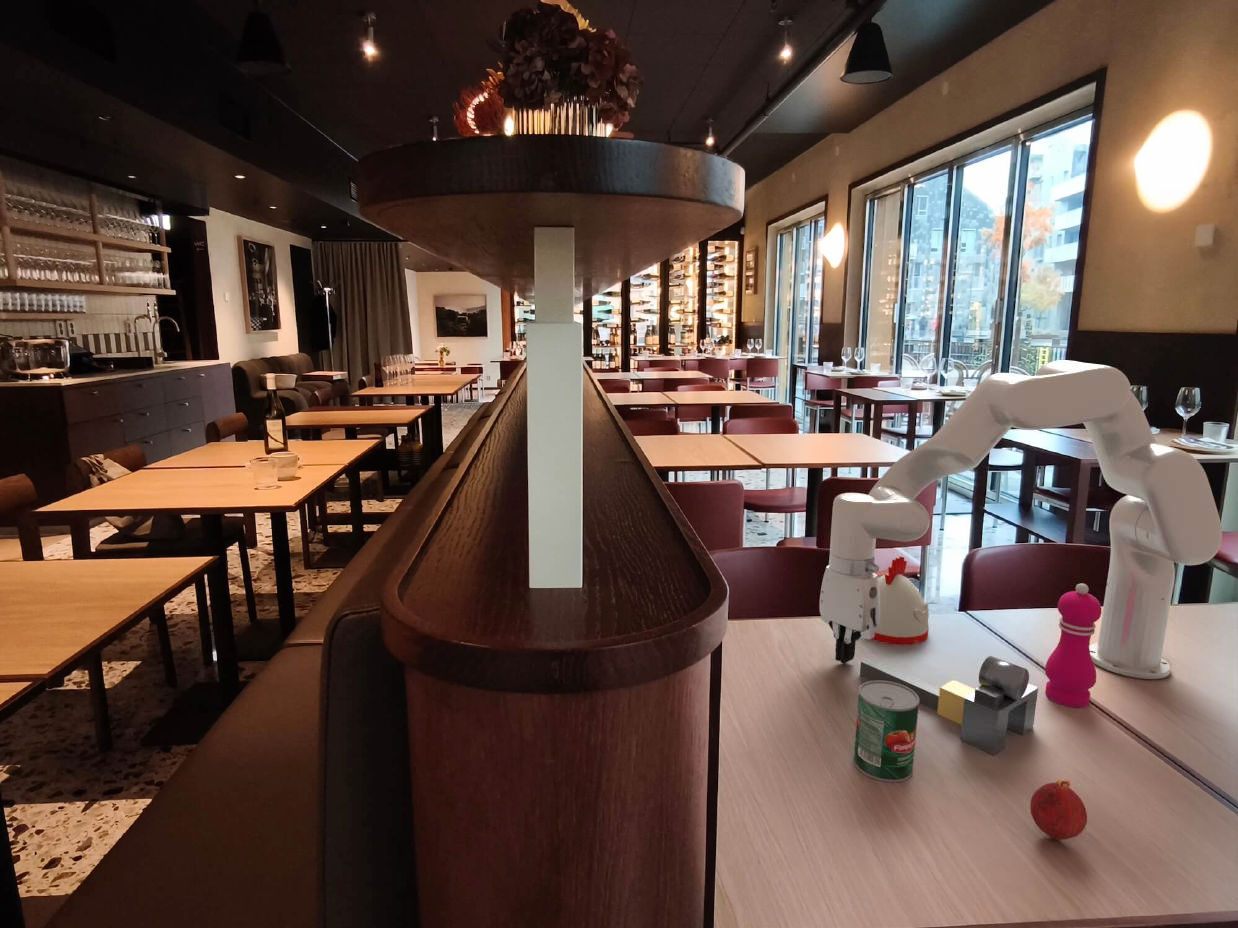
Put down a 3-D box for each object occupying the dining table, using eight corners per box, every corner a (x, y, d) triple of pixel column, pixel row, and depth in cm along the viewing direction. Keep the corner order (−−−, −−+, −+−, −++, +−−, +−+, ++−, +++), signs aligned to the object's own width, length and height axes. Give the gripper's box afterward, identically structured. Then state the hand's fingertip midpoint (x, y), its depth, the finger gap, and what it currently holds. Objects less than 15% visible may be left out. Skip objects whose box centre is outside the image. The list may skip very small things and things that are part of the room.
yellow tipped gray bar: (870, 670, 130) (872, 646, 129) (981, 719, 115) (984, 692, 114) (857, 676, 128) (858, 652, 127) (967, 727, 112) (970, 700, 111)
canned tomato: (858, 743, 108) (864, 674, 106) (915, 758, 104) (922, 687, 102) (848, 772, 101) (854, 700, 99) (909, 789, 98) (916, 714, 95)
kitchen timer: (938, 629, 147) (945, 558, 144) (911, 651, 138) (918, 576, 134) (872, 610, 157) (877, 543, 154) (842, 630, 147) (847, 559, 144)
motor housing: (1000, 713, 116) (1008, 646, 114) (1033, 727, 112) (1042, 658, 110) (960, 739, 109) (967, 667, 107) (993, 755, 105) (1002, 681, 103)
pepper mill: (1100, 711, 117) (1118, 593, 113) (1051, 706, 118) (1066, 590, 114) (1081, 689, 124) (1098, 577, 120) (1035, 684, 125) (1049, 574, 121)
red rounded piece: (1055, 859, 85) (1063, 798, 83) (1015, 827, 90) (1023, 769, 89) (1094, 849, 87) (1103, 789, 85) (1053, 818, 92) (1061, 761, 90)
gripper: (901, 571, 125) (893, 669, 129) (830, 548, 137) (824, 639, 140) (875, 580, 121) (867, 682, 124) (803, 556, 132) (798, 650, 136)
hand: (844, 659), depth 132 cm, fingers closed
